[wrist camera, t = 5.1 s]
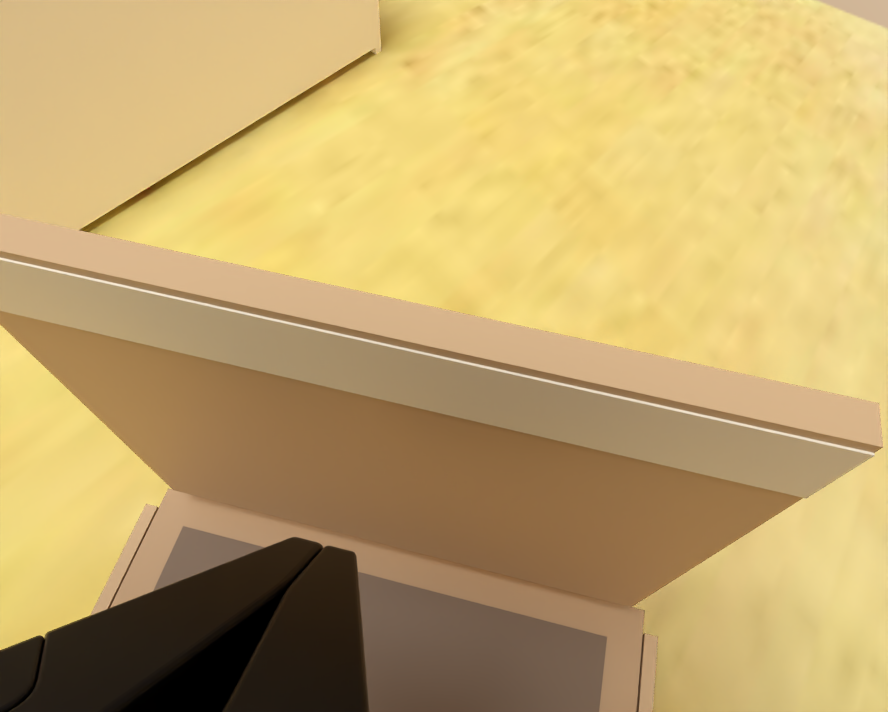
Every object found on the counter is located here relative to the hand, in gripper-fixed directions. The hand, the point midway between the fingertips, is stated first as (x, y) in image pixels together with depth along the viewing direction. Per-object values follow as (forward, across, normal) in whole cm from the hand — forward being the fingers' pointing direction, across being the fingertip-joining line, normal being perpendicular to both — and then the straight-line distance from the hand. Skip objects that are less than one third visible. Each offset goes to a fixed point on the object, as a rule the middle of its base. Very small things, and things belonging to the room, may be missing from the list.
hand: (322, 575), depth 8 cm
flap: (+3, 0, 0) cm, 3 cm away
